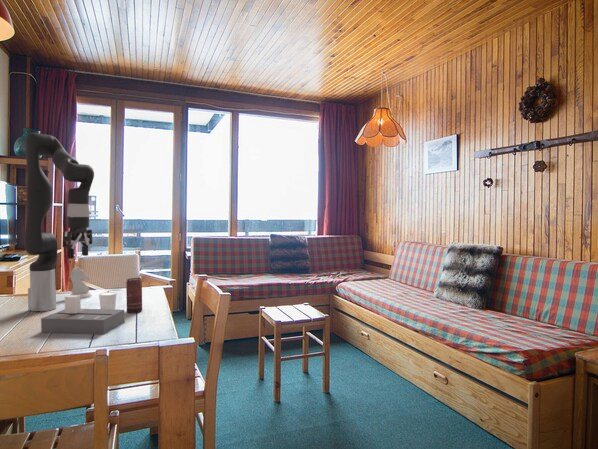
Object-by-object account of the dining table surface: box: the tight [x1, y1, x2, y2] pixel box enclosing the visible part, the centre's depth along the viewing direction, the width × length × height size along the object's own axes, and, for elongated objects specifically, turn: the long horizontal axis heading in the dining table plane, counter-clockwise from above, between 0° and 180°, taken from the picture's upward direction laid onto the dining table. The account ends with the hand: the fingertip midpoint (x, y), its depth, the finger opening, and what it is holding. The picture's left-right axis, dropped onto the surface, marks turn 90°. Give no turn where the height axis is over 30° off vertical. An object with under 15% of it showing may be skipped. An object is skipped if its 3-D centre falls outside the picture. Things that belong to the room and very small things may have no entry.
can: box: [125, 277, 143, 314], centre depth 167 cm, size 6×6×14 cm
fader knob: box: [64, 294, 82, 314], centre depth 145 cm, size 4×3×8 cm
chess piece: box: [70, 266, 93, 300], centre depth 194 cm, size 10×10×15 cm
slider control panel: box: [40, 308, 125, 335], centre depth 145 cm, size 23×14×5 cm, turn 86°
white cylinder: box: [98, 291, 117, 310], centre depth 170 cm, size 7×7×7 cm
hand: (78, 257), depth 153 cm, fingers open, 8 cm apart
